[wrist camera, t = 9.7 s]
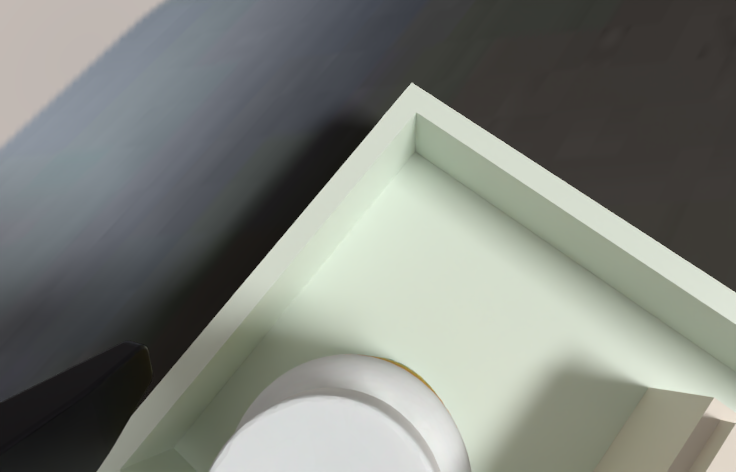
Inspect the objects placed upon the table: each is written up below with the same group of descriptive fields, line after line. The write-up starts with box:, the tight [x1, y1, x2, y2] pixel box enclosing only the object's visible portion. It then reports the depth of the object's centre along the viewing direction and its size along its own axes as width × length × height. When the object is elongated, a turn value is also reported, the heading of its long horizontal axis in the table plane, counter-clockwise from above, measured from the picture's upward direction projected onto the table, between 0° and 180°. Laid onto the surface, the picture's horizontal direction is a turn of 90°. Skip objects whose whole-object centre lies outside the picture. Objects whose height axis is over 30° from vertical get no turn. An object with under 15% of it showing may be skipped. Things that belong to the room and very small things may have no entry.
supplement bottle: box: [208, 354, 472, 472], centre depth 11 cm, size 5×5×10 cm
